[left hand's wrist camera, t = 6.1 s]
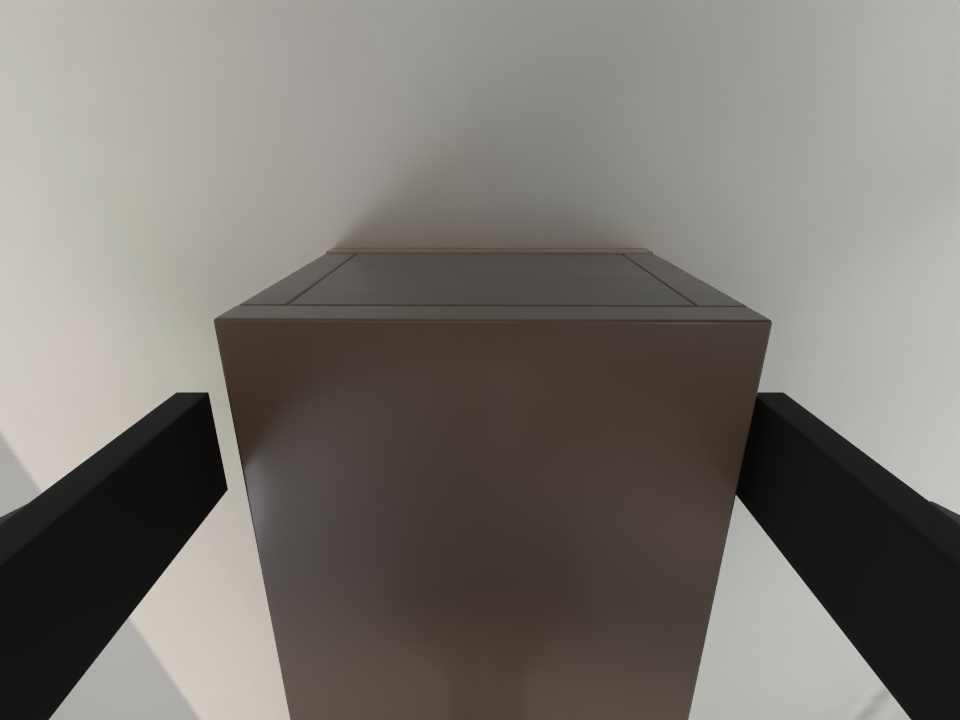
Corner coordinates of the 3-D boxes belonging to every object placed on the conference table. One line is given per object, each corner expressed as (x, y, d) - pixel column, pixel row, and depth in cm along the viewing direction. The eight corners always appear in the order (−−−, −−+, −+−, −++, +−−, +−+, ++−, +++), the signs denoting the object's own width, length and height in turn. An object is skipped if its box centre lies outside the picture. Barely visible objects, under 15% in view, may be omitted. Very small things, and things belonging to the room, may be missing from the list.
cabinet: (610, 561, 22) (677, 777, 14) (364, 559, 22) (299, 773, 15) (645, 248, 17) (775, 319, 10) (332, 248, 18) (210, 318, 10)
